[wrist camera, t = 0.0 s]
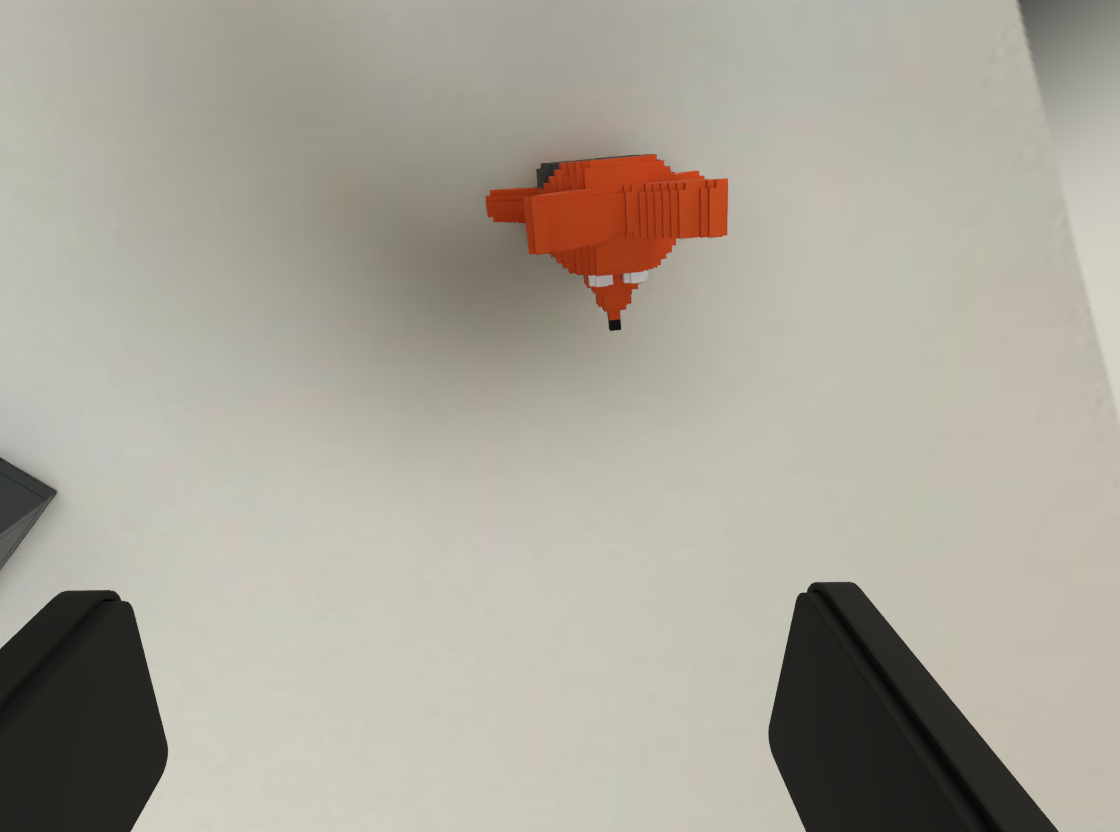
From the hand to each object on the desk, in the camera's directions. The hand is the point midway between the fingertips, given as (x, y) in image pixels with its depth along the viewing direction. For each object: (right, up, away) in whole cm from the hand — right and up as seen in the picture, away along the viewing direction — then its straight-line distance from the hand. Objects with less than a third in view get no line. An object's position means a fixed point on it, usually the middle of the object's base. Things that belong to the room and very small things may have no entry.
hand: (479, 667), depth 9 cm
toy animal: (+2, +12, +20) cm, 23 cm away
